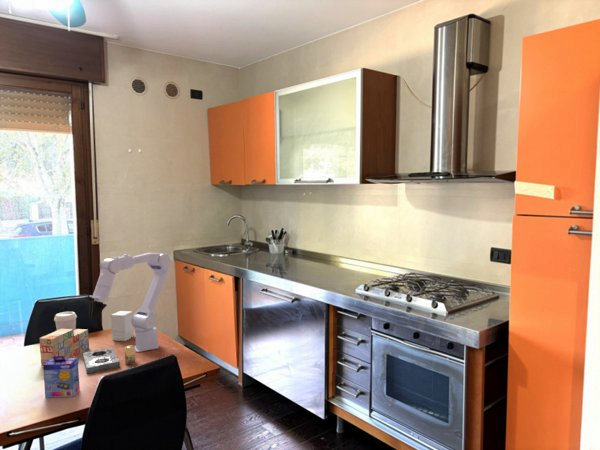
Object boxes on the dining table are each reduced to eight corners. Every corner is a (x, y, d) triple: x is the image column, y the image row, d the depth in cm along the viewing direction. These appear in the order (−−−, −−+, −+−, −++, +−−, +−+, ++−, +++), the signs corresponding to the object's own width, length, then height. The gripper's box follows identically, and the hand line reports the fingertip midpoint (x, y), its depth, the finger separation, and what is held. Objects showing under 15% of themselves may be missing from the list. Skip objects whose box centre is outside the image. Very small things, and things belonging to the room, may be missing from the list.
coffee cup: (82, 344, 207) (81, 312, 206) (62, 350, 199) (60, 317, 198) (71, 340, 212) (69, 310, 211) (51, 346, 204) (49, 315, 203)
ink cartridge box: (44, 398, 152) (41, 358, 151) (51, 391, 157) (49, 352, 156) (73, 397, 153) (71, 356, 152) (80, 390, 158) (78, 350, 157)
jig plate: (113, 352, 195) (112, 347, 194) (119, 367, 178) (119, 361, 178) (83, 358, 188) (82, 352, 188) (87, 374, 172) (86, 367, 172)
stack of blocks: (77, 348, 201) (76, 322, 200) (89, 349, 200) (88, 322, 199) (40, 366, 181) (39, 337, 180) (54, 367, 179) (52, 338, 178)
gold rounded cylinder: (134, 360, 185) (133, 344, 185) (136, 363, 182) (135, 347, 181) (124, 362, 183) (123, 346, 183) (126, 365, 180) (125, 349, 179)
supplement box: (134, 336, 217) (133, 311, 216) (125, 341, 210) (124, 315, 209) (121, 335, 218) (120, 310, 217) (111, 340, 211) (110, 314, 210)
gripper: (91, 285, 185) (80, 317, 181) (95, 283, 173) (83, 318, 169) (108, 289, 188) (97, 321, 184) (114, 288, 176) (102, 322, 172)
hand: (92, 319), depth 177 cm, fingers open, 7 cm apart
